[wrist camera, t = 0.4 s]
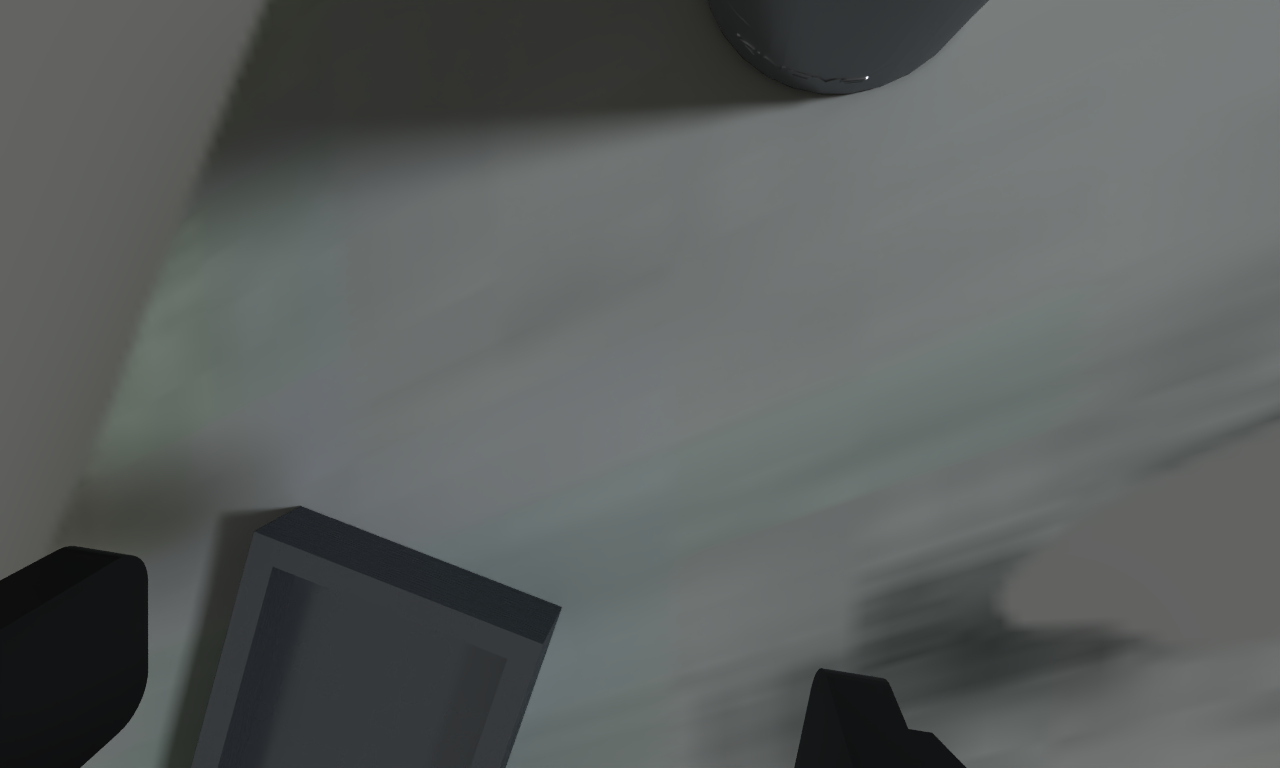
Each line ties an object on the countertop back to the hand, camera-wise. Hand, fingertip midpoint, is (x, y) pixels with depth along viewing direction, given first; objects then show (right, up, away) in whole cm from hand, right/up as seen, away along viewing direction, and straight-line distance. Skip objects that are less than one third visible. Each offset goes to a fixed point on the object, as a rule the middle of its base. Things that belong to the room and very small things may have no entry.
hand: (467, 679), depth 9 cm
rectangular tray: (-10, -13, +23) cm, 28 cm away
